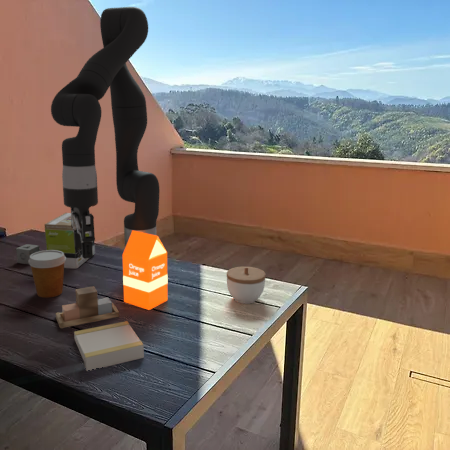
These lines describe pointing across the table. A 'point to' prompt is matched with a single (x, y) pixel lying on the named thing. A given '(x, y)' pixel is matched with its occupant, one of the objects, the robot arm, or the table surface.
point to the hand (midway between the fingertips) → (83, 252)
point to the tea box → (65, 240)
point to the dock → (108, 345)
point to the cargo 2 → (104, 306)
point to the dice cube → (26, 253)
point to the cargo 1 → (70, 312)
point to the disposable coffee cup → (48, 272)
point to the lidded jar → (245, 283)
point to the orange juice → (145, 271)
